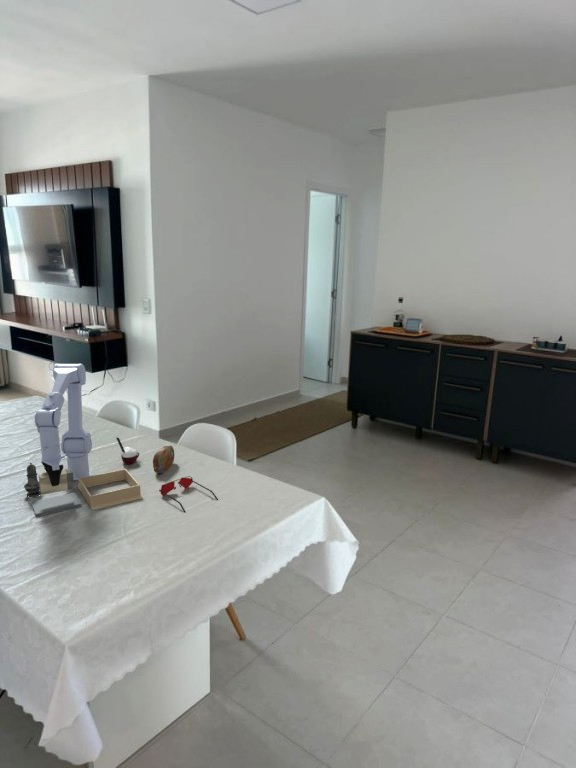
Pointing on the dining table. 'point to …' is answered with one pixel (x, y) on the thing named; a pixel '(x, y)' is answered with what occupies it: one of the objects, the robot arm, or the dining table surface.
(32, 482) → the salt shaker
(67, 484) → the capped box
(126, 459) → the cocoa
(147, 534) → the dining table surface
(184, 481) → the glasses
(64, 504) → the slate board
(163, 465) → the tin
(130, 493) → the wooden tray
